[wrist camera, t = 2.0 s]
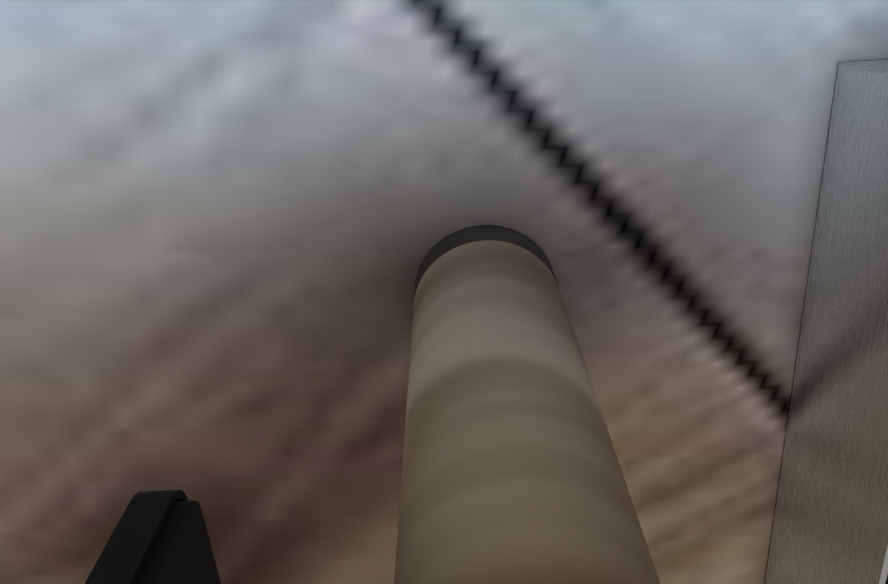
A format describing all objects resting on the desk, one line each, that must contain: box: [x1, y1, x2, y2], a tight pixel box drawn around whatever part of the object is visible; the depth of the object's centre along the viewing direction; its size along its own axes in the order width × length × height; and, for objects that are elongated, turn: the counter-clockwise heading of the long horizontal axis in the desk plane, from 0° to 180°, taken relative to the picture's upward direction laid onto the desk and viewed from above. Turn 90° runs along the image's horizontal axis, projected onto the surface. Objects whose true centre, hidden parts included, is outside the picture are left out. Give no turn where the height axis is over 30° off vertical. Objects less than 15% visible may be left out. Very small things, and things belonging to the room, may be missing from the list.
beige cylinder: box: [394, 226, 660, 584], centre depth 14 cm, size 4×4×12 cm
